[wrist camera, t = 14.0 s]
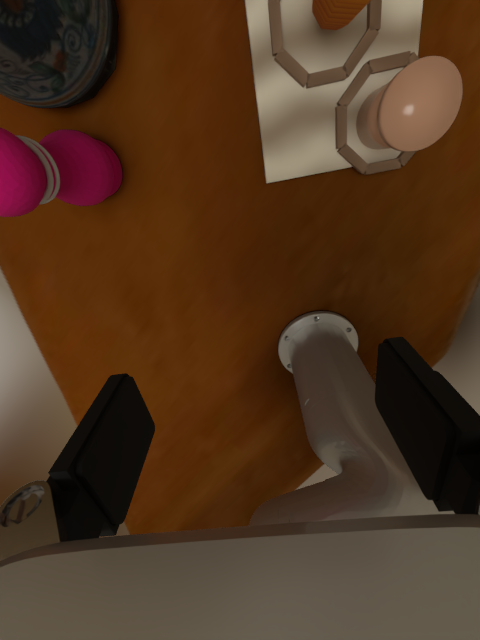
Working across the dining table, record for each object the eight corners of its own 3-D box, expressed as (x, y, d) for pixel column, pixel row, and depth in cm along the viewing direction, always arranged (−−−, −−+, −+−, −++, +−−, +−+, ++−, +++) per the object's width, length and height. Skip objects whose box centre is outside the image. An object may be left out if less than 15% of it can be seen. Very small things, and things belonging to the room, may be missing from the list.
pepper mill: (53, 156, 34) (-155, 147, 16) (98, 119, 32) (-81, 66, 14) (95, 212, 37) (-41, 256, 19) (139, 181, 35) (32, 199, 17)
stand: (418, 162, 33) (429, 162, 31) (267, 191, 35) (268, 193, 33) (455, -164, 22) (475, -196, 20) (232, -99, 24) (231, -122, 22)
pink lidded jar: (410, 147, 31) (454, 143, 25) (351, 159, 32) (379, 157, 25) (418, 73, 28) (470, 47, 22) (352, 88, 29) (384, 66, 22)
